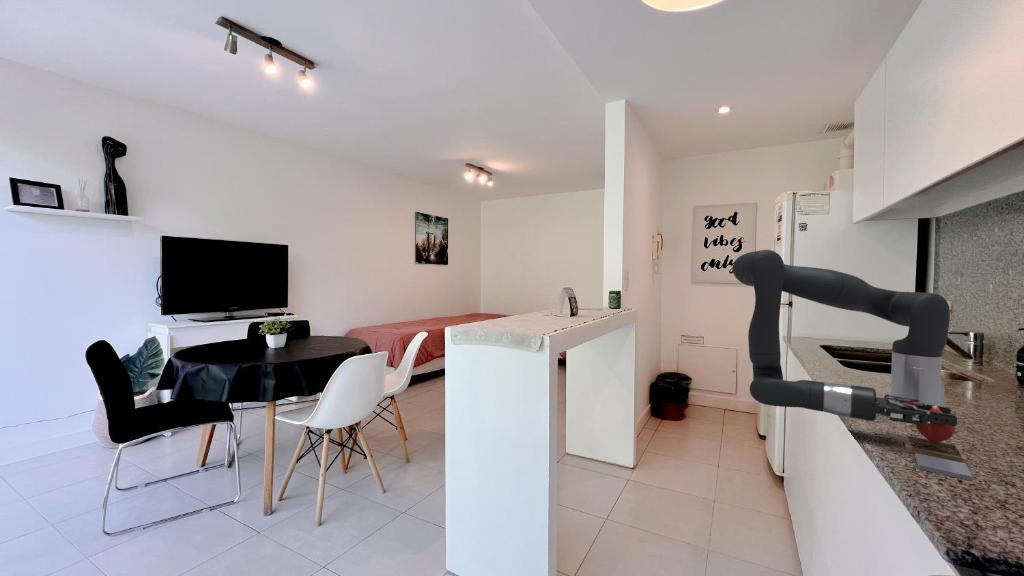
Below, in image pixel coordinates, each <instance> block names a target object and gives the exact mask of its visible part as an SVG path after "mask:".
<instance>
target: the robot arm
mask: <svg viewBox="0 0 1024 576" xmlns="http://www.w3.org/2000/svg"><path fill="white" fill-rule="evenodd" d="M732 274H733V276H734V277H735V278H736V280H737V281H739V282H740V283H741V284H744V285H746V286H749V287H753V289H754V297H755V301H754V310H753V314H752V316H751V320H750V324H749V327H748V333H747V334H748V335H747V337H748V353H749V355H748V356H749V360H750V362H751V364H752V375H753V376H752V379H753V380H752V381H751V383H750V385H749V392H750V393H749V394H750V395H751V397H752V398H753V399H754V400H755V401H757V402H758V403H761V404H762V405H766V406H771V407H772V406H773V407H783V408H801V409H807V410H812V411H818V412H822V413H823V412H824V413H828V414H830V415H834V416H840V417H845V418H852V419H857V420H863V421H868V422H874V421H876V418H877V414H879V415H883V416H886V417H887V418H889V421H891V422H897V423H906V424H912V425H916V424H920V425H927V423H930V422H931V423H937V424H943V425H949V426H955V427H956V426H957V425H958V417H957V416H956V415H955V414H952V413H951V412H952V410H951V409H950V407H947V406H945V389H946V388H945V386H944V385H942V364H943V362H942V361H943V360H942V359H943V351H944V348H945V347H946V346H947V343H948V338H949V337H948V336H949V327H950V321H951V320H950V318H951V309H950V305H949V302H948V301H947V300H946V298H945V297H944V296H942V295H940V294H937V293H934V292H933V293H932V292H918V291H917V292H915V291H900V290H899V291H898V290H890V289H886V288H885V289H884V288H880V287H875V286H874V285H871V284H869V282H866V281H865V280H863V279H862V278H861V277H858V276H855V275H852V274H849V273H846V272H842V271H838V270H833V269H828V268H822V267H821V268H820V267H810V266H809V267H808V266H796V265H790V264H785V263H784V259H783V258H782V256H781V254H779V253H777V252H776V251H775V250H771V249H762V250H761V249H760V250H755V251H751V252H747V253H744V254H742V255H740V256H739V257H737V258H736V259H735V260H734V261H733V264H732ZM783 292H784V293H786V294H789V295H792V296H795V297H798V298H801V299H805V300H808V301H812V302H813V303H814V302H815V303H818V304H820V305H821V304H822V305H824V306H828V307H832V308H836V309H841V310H846V311H853V312H859V313H866V314H869V315H870V316H871V315H872V316H874V317H877V318H880V319H883V320H885V321H888V322H889V323H890V322H891V323H892V324H896V325H899V326H902V327H908V331H907V335H906V336H905V337H903V338H900V339H896V340H894V341H893V342H892V347H891V350H892V351H891V370H890V371H891V373H890V374H891V375H890V377H891V379H890V394H884V397H877V390H876V389H875V388H874V387H869V386H860V385H852V384H847V383H839V382H824V381H816V380H807V379H800V380H796V381H795V380H786V379H785V380H784V375H783V368H782V363H781V360H782V359H781V357H782V356H781V355H782V354H781V340H780V315H781V305H782V304H781V303H782V296H783V295H782V294H783ZM932 406H938V407H939V410H940V411H941V412H943V413H939V412H932V411H931V412H930V411H928V410H930V409H931V408H932ZM918 416H919V418H918Z"/></svg>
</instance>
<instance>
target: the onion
mask: <svg viewBox="0 0 1024 576" xmlns="http://www.w3.org/2000/svg"><path fill="white" fill-rule="evenodd" d="M928 411H930V412H931V411H932V412H939V413H943V412H941V411H940V410H939V407H938V406H932V408H931V409H930V410H928ZM918 418H919V416H918ZM915 427H916V429H917V430H918V432H919V434H921V436H922V437H924V439H928V440H929V441H931V442H933V443H938V442H944V441H947V440H948V439H951V438H952V437H953V436H954V434H955V431H956V429H955V427H956V426H949V425H943V424H937V423H931V422H930V423H927V425H920V424H915Z"/></svg>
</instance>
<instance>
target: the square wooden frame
mask: <svg viewBox="0 0 1024 576" xmlns="http://www.w3.org/2000/svg"><path fill="white" fill-rule="evenodd" d="M902 441H903V445H904V448H905V452H906V451H907V452H906V453H911V452H912V453H911V454H915V453H917V454H922V455H927V456H932V457H937V458H942V459H946V460H951V461H956V462H961V463H965V464H966V465H968V463H969V462H968V461H969V459H968V457H967V455H966V454H965V452H964V451H963V449H962V447H961V446H960V445H959V444H955V443H949V442H944V441H941V442H938V443H933V442H931V441H929V440H928V439H927V438H923V437H916V436H911V435H906V434H903V435H902ZM910 442H913V443H916V444H922V445H927V446H931V447H932V446H933V447H936V448H937V447H938V448H942V449H946V450H947V449H949V450H952V451H955V452H956V454H957V455H954V454H949V453H944V452H938V451H934V450H928V449H922V448H919V447H913V446H911V444H910Z"/></svg>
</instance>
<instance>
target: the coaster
mask: <svg viewBox="0 0 1024 576" xmlns="http://www.w3.org/2000/svg"><path fill="white" fill-rule="evenodd" d="M914 457H915V458H914V459H915V462H916V464H917V465H916V466H917V469H918V470H922V471H926V472H931V473H935V474H940V475H944V476H948V477H953V478H958V479H961V480H967V481H971V482H973V481H974V479H973V478H974V476H973V474H972V473H971V471H970V469H969V468H968V466H967V464H965V463H961V462H956V461H951V460H946V459H942V458H937V457H932V456H927V455H922V454H917V453H914Z"/></svg>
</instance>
